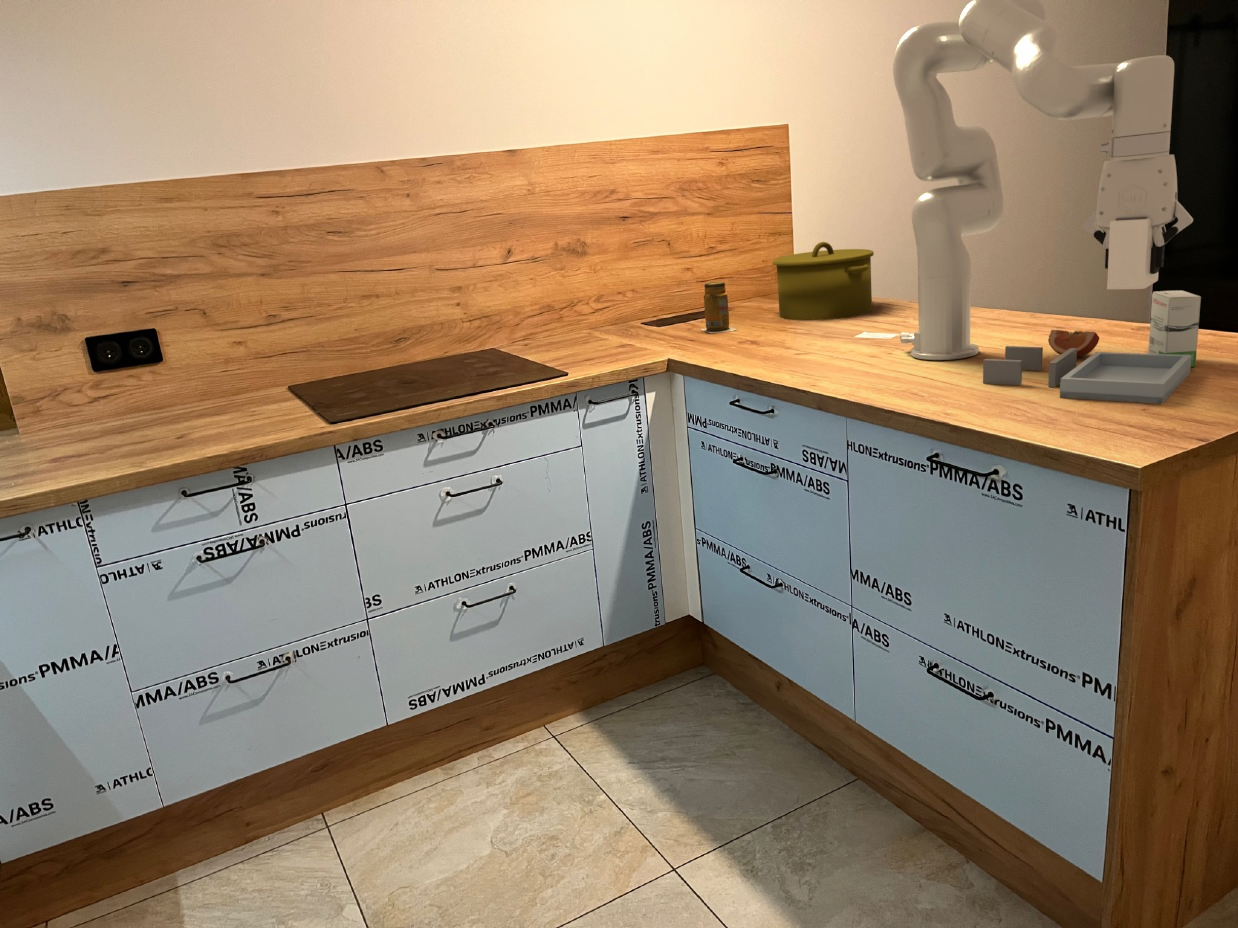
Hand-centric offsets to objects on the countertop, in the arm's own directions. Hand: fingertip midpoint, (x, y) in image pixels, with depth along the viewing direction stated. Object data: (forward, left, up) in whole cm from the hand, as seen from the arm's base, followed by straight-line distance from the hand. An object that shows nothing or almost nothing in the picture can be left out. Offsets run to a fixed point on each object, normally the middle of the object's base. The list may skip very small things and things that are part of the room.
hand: (1133, 272), depth 140 cm
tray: (0, 0, -18) cm, 18 cm away
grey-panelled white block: (0, 0, -2) cm, 2 cm away
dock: (-15, +2, -18) cm, 24 cm away
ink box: (+3, +17, -18) cm, 25 cm away
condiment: (-102, +35, -18) cm, 110 cm away
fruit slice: (-13, +19, -18) cm, 29 cm away
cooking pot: (-86, +62, -18) cm, 108 cm away
